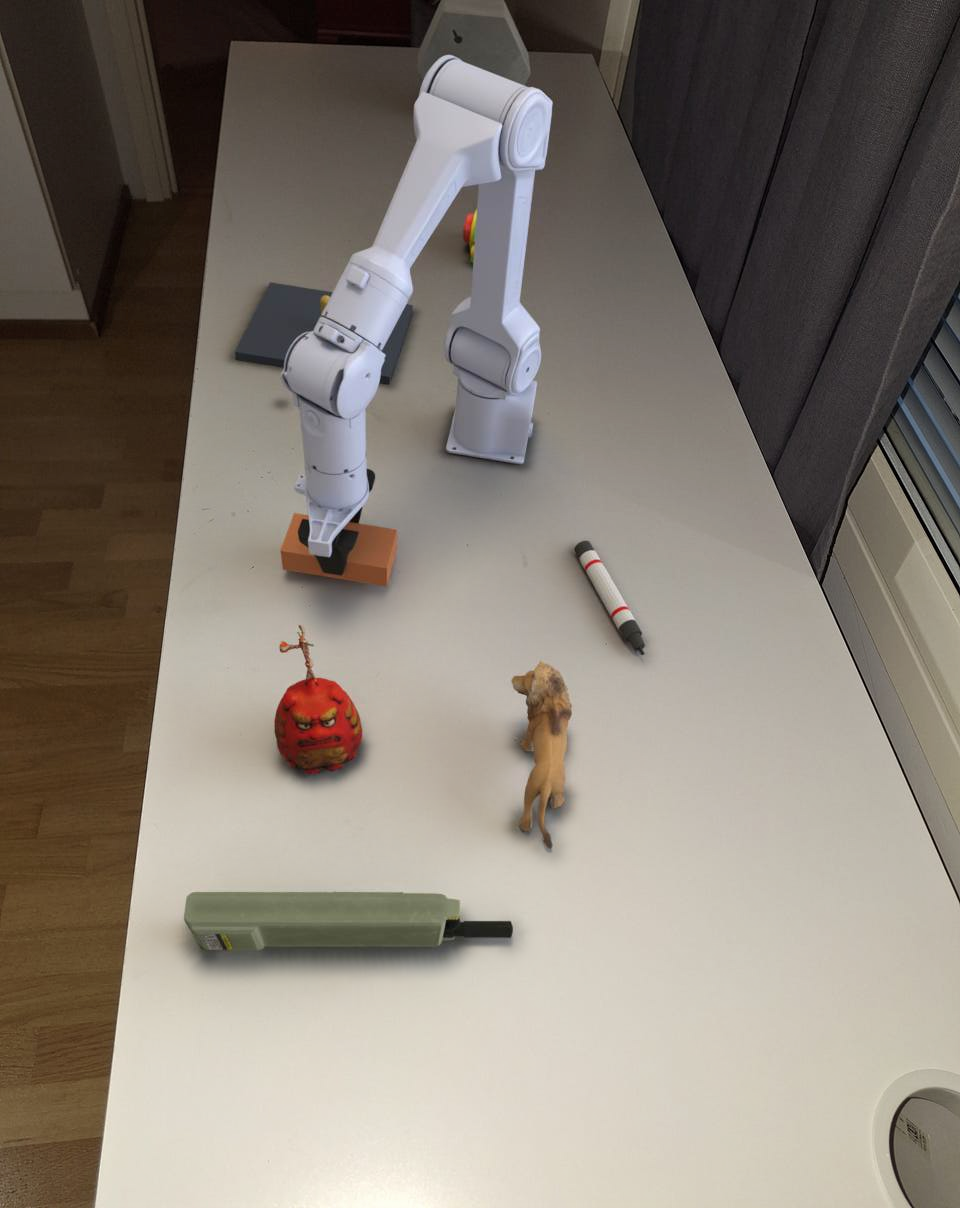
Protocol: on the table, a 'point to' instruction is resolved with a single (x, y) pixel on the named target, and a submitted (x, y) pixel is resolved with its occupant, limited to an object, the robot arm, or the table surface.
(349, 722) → the red clay folk toy
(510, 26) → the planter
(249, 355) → the dark gray base plate
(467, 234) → the toy measuring tape
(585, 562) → the marker
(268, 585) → the table surface
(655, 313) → the table surface
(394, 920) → the handheld radio
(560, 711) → the lion figurine
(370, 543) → the orange brown rectangular block
